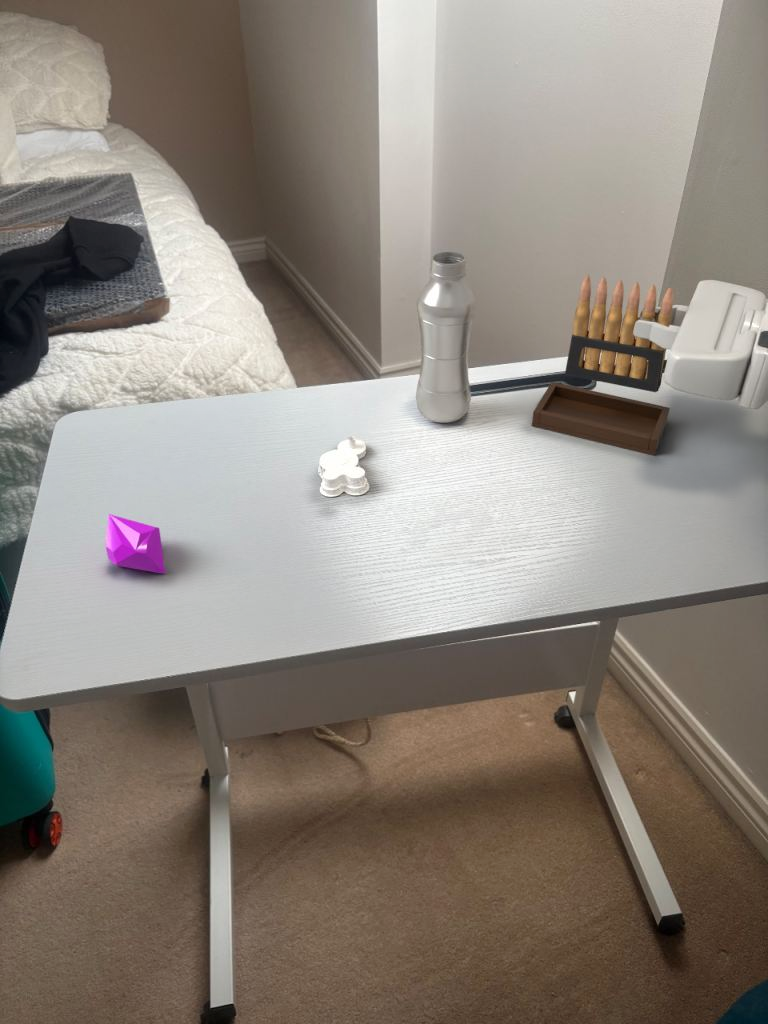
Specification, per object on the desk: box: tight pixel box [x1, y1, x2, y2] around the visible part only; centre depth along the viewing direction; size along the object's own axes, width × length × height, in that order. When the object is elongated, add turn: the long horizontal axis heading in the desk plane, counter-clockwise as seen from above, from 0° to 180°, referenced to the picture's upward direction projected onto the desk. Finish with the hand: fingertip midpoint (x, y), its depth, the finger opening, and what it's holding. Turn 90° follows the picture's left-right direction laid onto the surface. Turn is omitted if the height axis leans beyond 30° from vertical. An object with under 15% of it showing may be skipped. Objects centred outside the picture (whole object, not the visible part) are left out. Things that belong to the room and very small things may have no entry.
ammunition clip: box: [564, 274, 674, 393], centre depth 92 cm, size 11×2×12 cm, turn 65°
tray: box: [531, 381, 671, 456], centre depth 99 cm, size 15×8×2 cm, turn 65°
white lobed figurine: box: [317, 435, 370, 509], centre depth 92 cm, size 9×9×2 cm
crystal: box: [105, 513, 166, 575], centre depth 81 cm, size 5×5×5 cm
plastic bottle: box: [415, 251, 477, 424], centre depth 96 cm, size 6×7×20 cm
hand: (638, 320), depth 90 cm, fingers closed on ammunition clip, 2 cm apart
